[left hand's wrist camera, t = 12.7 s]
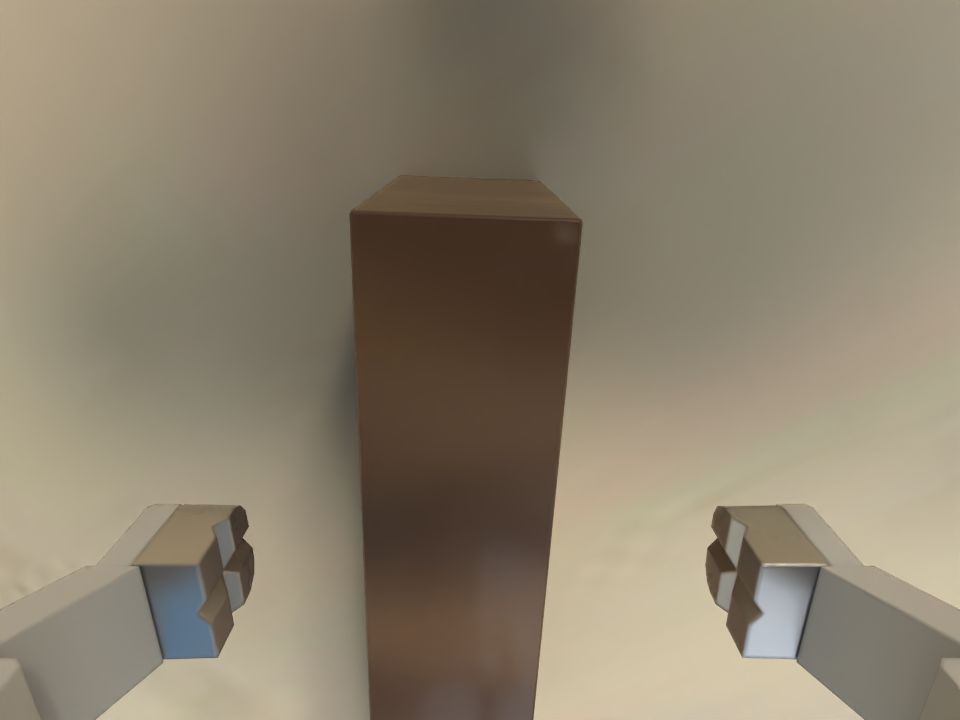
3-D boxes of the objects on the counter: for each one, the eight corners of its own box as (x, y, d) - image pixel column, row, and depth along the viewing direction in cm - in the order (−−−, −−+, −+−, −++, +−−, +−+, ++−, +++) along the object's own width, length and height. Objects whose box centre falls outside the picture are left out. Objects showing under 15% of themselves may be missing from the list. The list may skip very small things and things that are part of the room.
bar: (399, 175, 20) (348, 210, 12) (541, 180, 20) (583, 219, 12) (405, 716, 29) (378, 938, 21) (502, 718, 29) (511, 940, 21)
